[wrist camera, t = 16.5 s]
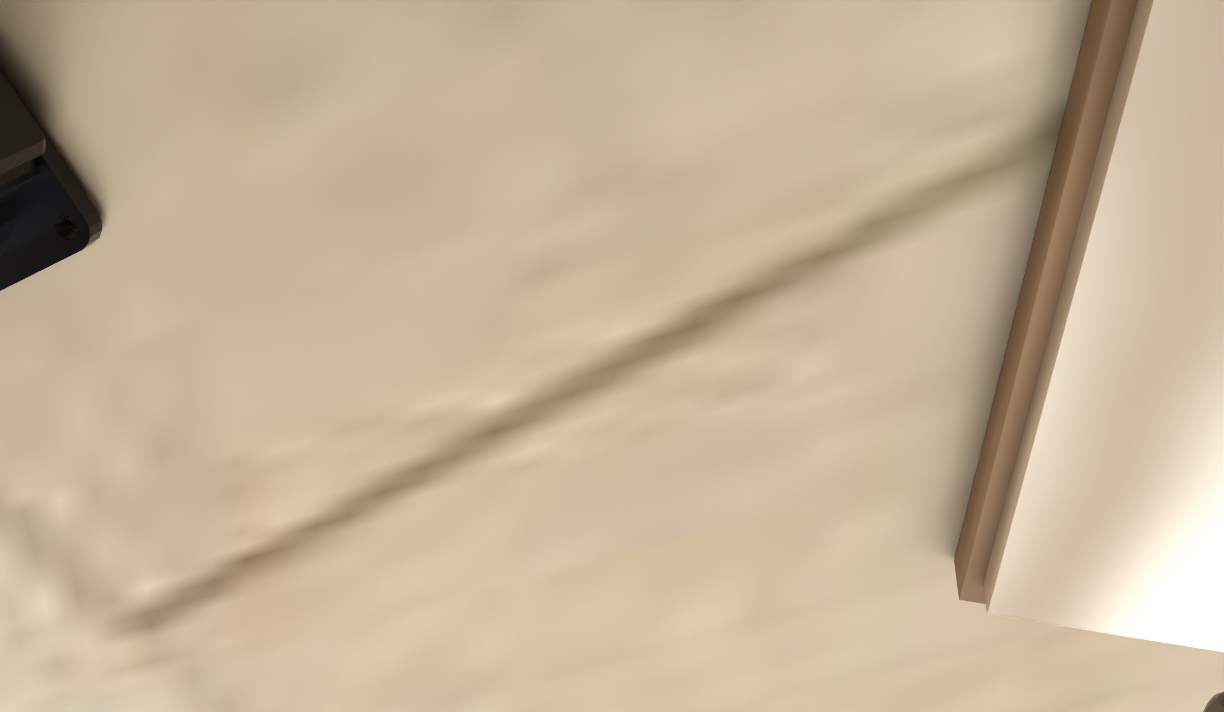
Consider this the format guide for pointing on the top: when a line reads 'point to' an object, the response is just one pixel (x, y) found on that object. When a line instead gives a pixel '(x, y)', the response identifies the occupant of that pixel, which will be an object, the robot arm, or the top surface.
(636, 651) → the top surface
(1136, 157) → the board
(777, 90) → the top surface
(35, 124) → the robot arm
